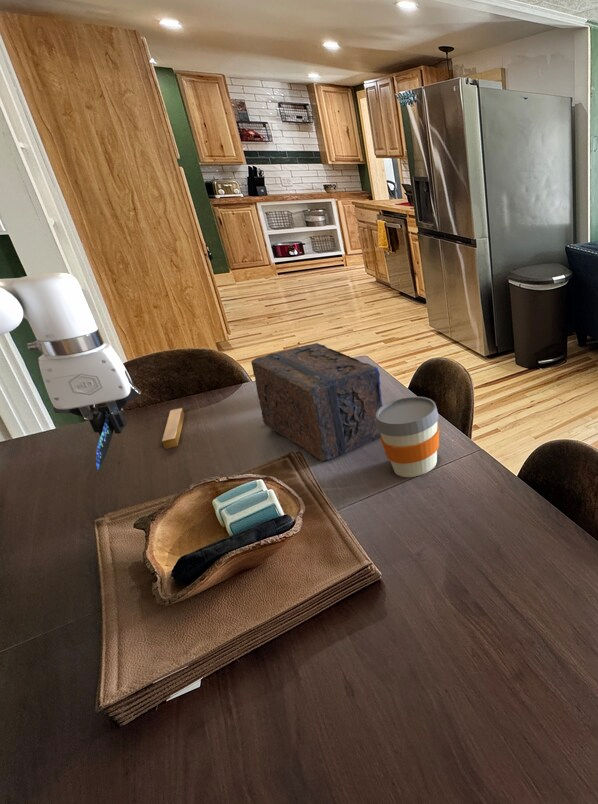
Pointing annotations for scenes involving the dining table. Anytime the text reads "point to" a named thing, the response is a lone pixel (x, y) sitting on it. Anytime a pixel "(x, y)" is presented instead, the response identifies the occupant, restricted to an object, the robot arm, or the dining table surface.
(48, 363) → the robot arm
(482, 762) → the dining table surface
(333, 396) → the decorative box
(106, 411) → the knife
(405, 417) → the reusable coffee cup
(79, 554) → the dining table surface
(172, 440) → the tan wooden bar
